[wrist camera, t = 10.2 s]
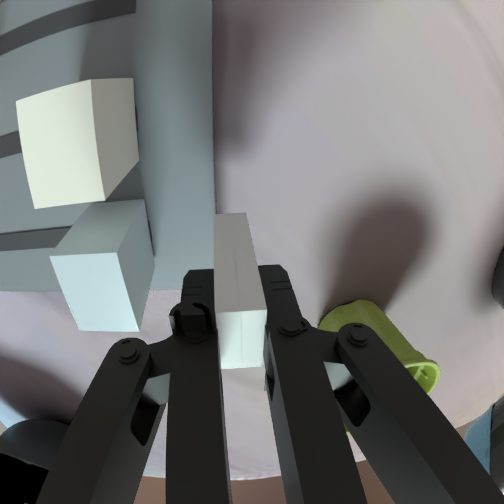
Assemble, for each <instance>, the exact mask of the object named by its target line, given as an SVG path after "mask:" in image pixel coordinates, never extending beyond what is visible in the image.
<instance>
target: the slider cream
mask: <svg viewBox="0 0 504 504" xmlns="http://www.w3.org/2000/svg"><path fill="white" fill-rule="evenodd" d="M16 109H17V118H18V126H19V134H20V141H21V147H22V153H23V158H24V164H25V169H26V174H27V179H28V183H29V187H30V192H31V196H32V200H33V204H34V208H35V209H39V208H46V207H53V206H61V205H69V204H77V203H86V202H95V201H105V200H106V199H107V198H108V196H109V195H110V194H111V193H112V191H113V190H114V189H115V188H116V187H117V185H118V184H119V183H120V182H121V181H122V180H123V178H124V177H125V176H126V175H127V174H128V173H129V171H130V170H131V169H132V168H133V167H134V166H135V165H136V163H137V162H138V161H139V152H138V142H137V131H136V118H135V103H134V84H133V78H108V79H90V80H86V81H82V82H78V83H74V84H70V85H66V86H62V87H59V88H55V89H52V90H48V91H45V92H42V93H39V94H35V95H32V96H29V97H26V98H24V99H21V100H18V101H16Z"/></svg>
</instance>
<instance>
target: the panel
mask: <svg viewBox="0 0 504 504" xmlns="http://www.w3.org/2000/svg"><path fill="white" fill-rule="evenodd" d="M212 33H213V0H6V1H4V2H2V3H0V291H33V292H63V291H62V289H61V286H60V284H59V281H58V279H57V276H56V273H55V271H54V268H53V265H52V262H51V260H50V257H49V256H50V255H51V253H52V252H53V251H54V249H55V248H56V247H57V245H58V244H59V243H60V241H61V240H62V239H63V237H64V236H65V235H66V233H67V232H68V231H69V230H70V228H71V227H72V226H73V225H74V223H75V222H76V221H77V220H78V218H79V217H80V216H81V215H82V214H83V212H84V211H85V210H86V209H87V208H88V207H89V205H90V204H95V203H104V202H115V201H126V200H137V199H144V201H145V208H146V215H147V221H148V227H149V233H150V239H151V245H152V251H153V256H154V261H155V270H154V273H153V277H152V281H151V285H150V289H149V290H168V289H182V285H183V278H184V276H185V275H186V274H187V272H188V271H189V270H195V269H214V214H216V195H215V169H214V136H213V76H212ZM108 78H133V84H134V103H135V118H136V131H137V142H138V152H139V161H138V162H137V163H136V165H135V166H134V167H133V168H132V169H131V170H130V171H129V173H128V174H127V175H126V176H125V177H124V178H123V180H122V181H121V182H120V183H119V184H118V185H117V187H116V188H115V189H114V190H113V191H112V193H111V194H110V195H109V196H108V198H107V199H106V200H105V201H95V202H86V203H77V204H69V205H61V206H53V207H46V208H39V209H35V208H34V204H33V200H32V196H31V192H30V187H29V183H28V179H27V174H26V169H25V164H24V158H23V153H22V147H21V141H20V134H19V126H18V118H17V109H16V101H18V100H21V99H24V98H26V97H29V96H32V95H35V94H39V93H42V92H45V91H48V90H52V89H55V88H59V87H62V86H66V85H70V84H74V83H78V82H82V81H86V80H90V79H108Z"/></svg>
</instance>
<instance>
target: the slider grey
mask: <svg viewBox="0 0 504 504" xmlns="http://www.w3.org/2000/svg"><path fill="white" fill-rule="evenodd" d="M49 257H50V260H51V262H52V265H53V268H54V271H55V273H56V276H57V279H58V281H59V284H60V286H61V289H62V291H63V294H64V296H65V298H66V301H67V303H68V306H69V308H70V310H71V312H72V315H73V317H74V319H75V321H76V323H77V325H78V328H79V330H83V331H123V332H139V331H140V327H141V322H142V318H143V314H144V309H145V305H146V301H147V297H148V293H149V289H150V285H151V281H152V277H153V273H154V270H155V261H154V256H153V251H152V245H151V239H150V233H149V227H148V221H147V215H146V208H145V201H144V199H137V200H126V201H115V202H104V203H95V204H90V205H89V207H88V208H87V209H86V210H85V211H84V212H83V214H82V215H81V216H80V217H79V218H78V220H77V221H76V222H75V223H74V225H73V226H72V227H71V228H70V230H69V231H68V232H67V233H66V235H65V236H64V237H63V239H62V240H61V241H60V243H59V244H58V245H57V247H56V248H55V249H54V251H53V252H52V253H51V255H50V256H49Z"/></svg>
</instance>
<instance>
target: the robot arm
mask: <svg viewBox="0 0 504 504" xmlns="http://www.w3.org/2000/svg"><path fill="white" fill-rule="evenodd" d="M493 296H494V298H495V300H496V301H497V302H498V303H499V304H500V306H501V307H502V308H503V309H504V250H503V252H502V254H501V257H500V259H499V262H498V265H497V268H496V271H495V275H494V279H493ZM169 319H170V323H171V328H172V332H173V334H172V335H171V336H170V337H168V338H167V339H165V340H163V341H160V342H157V343H153V344H149V345H147V344H146V343H145V342H144V341H143V340H141V339H138V338H125V339H121V340H119V341H118V342H116V343H114V345H113V346H112V347H111V348H110V349H109V351H108V353H107V355H106V356H105V358H104V360H103V362H102V364H101V366H100V367H99V369H98V371H97V373H96V375H95V377H94V379H93V380H92V382H91V384H90V386H89V388H88V390H87V392H86V394H85V396H84V398H83V400H82V402H81V404H80V406H79V408H78V410H77V412H76V414H75V416H74V418H73V420H72V422H71V424H70V426H69V428H68V430H67V432H66V434H65V436H64V438H63V441H62V443H61V445H60V447H59V449H58V452H57V454H56V456H55V458H54V460H53V463H52V465H51V467H50V470H49V472H48V474H47V477H46V479H45V481H44V484H43V486H42V489H41V491H40V494H39V496H38V499H37V501H36V504H133V503H134V500H135V496H136V493H137V490H138V487H139V484H140V481H141V477H142V475H143V472H144V469H145V465H146V462H147V459H148V456H149V453H150V450H151V447H152V444H153V441H154V439H155V436H156V433H157V430H158V427H159V424H160V421H161V418H162V415H163V412H164V409H165V407H166V403H167V402H168V414H167V437H166V504H233V503H232V493H231V483H230V473H229V462H228V451H227V439H226V427H225V414H224V400H223V385H222V375H221V369H230V368H246V367H259V366H264V363H265V369H266V374H265V386H264V391H267V394H268V399H269V405H270V411H271V417H272V423H273V429H274V435H275V440H276V446H277V452H278V458H279V463H280V469H281V475H282V480H283V486H284V492H285V497H286V503H287V504H367V500H366V497H365V493H364V489H363V486H362V483H361V479H360V476H359V473H358V469H357V466H356V462H355V459H354V456H353V452H352V449H351V446H350V442H349V439H348V436H347V433H346V430H345V426H346V427H347V429H348V431H349V432H350V434H351V435H352V437H353V438H354V440H355V442H356V443H357V445H358V446H359V448H360V449H361V451H362V453H363V454H364V456H365V457H366V459H367V460H368V462H369V464H370V465H371V467H372V468H373V470H374V471H375V473H376V474H377V476H378V478H379V479H380V481H381V482H382V484H383V485H384V487H385V488H386V490H387V491H388V493H389V495H390V496H391V498H392V499H393V501H394V502H395V504H504V396H503V397H502V398H501V399H500V400H499V401H497V402H496V403H493V404H492V405H491V406H490V408H489V409H488V410H487V411H486V412H485V413H484V414H483V415H482V416H480V417H479V418H478V419H477V420H476V421H475V422H473V423H472V424H471V426H470V427H469V428H468V430H467V432H466V434H465V436H464V440H463V439H462V438H461V436H460V435H459V434H458V432H457V431H456V430H455V428H454V427H453V426H452V425H451V423H450V422H449V421H448V419H447V418H446V417H445V416H444V414H443V413H442V412H441V411H440V409H439V408H438V407H437V406H436V404H435V403H434V402H433V401H432V399H431V398H430V397H429V396H428V394H427V393H426V392H425V391H424V389H423V388H422V387H421V386H420V385H419V383H418V382H417V381H416V380H415V378H414V377H413V376H412V375H411V374H410V372H409V371H408V370H407V369H406V368H405V366H404V365H403V364H402V363H401V362H400V360H399V359H398V358H397V357H396V356H395V354H394V353H393V352H392V351H391V350H390V349H389V347H388V346H387V345H386V344H385V343H384V342H383V340H382V339H381V338H380V337H379V336H378V335H377V333H376V332H375V331H374V330H373V329H371V328H370V327H369V326H367V325H364V324H362V323H355V322H353V323H348V324H345V325H344V326H342V327H341V328H340V329H339V331H338V332H332V331H325V330H320V329H317V328H315V327H312V326H311V325H310V323H309V322H308V321H307V320H306V319H305V318H303V317H302V315H301V312H300V309H299V306H298V303H297V300H296V297H295V294H294V291H293V289H292V285H291V282H290V279H289V276H288V273H287V271H286V270H285V269H283V268H282V267H281V266H280V265H260V266H258V265H257V261H256V256H255V252H254V247H253V242H252V238H251V233H250V229H249V224H248V220H247V215H246V213H228V214H214V269H195V270H189V271H188V272H187V274H186V275H185V276H184V278H183V285H182V293H181V303H179V304H177V305H176V306H175V307H173V308H172V309H171V311H170V314H169ZM344 424H345V426H344Z"/></svg>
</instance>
